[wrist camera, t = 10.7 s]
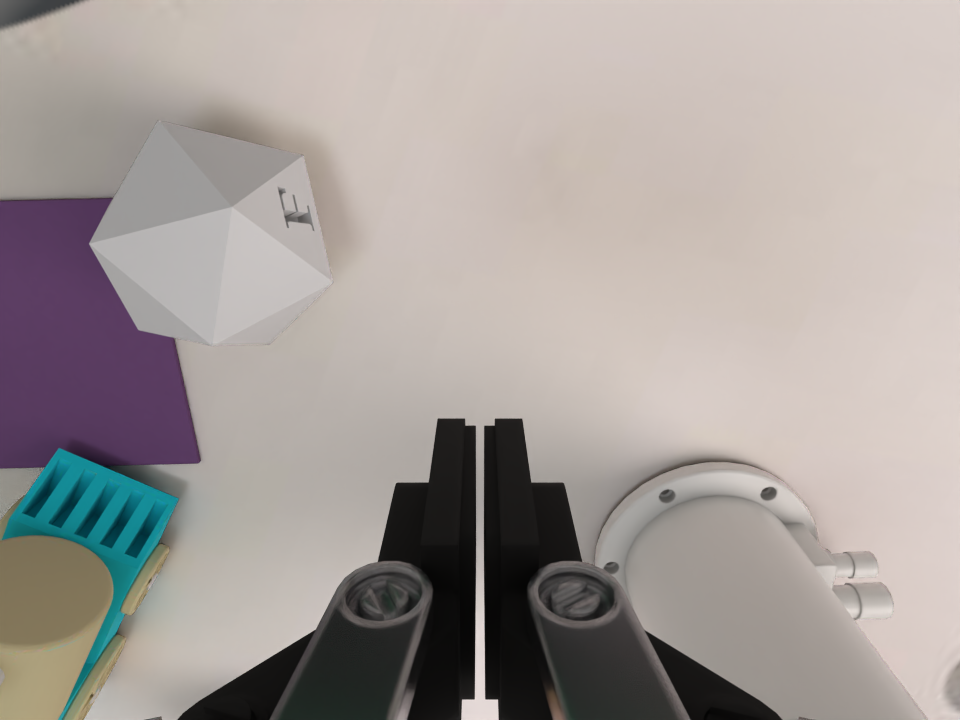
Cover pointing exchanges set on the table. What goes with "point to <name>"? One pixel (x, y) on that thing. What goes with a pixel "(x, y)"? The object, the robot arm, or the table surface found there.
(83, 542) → the toy train
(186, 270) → the die
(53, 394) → the cloth
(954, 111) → the table surface
